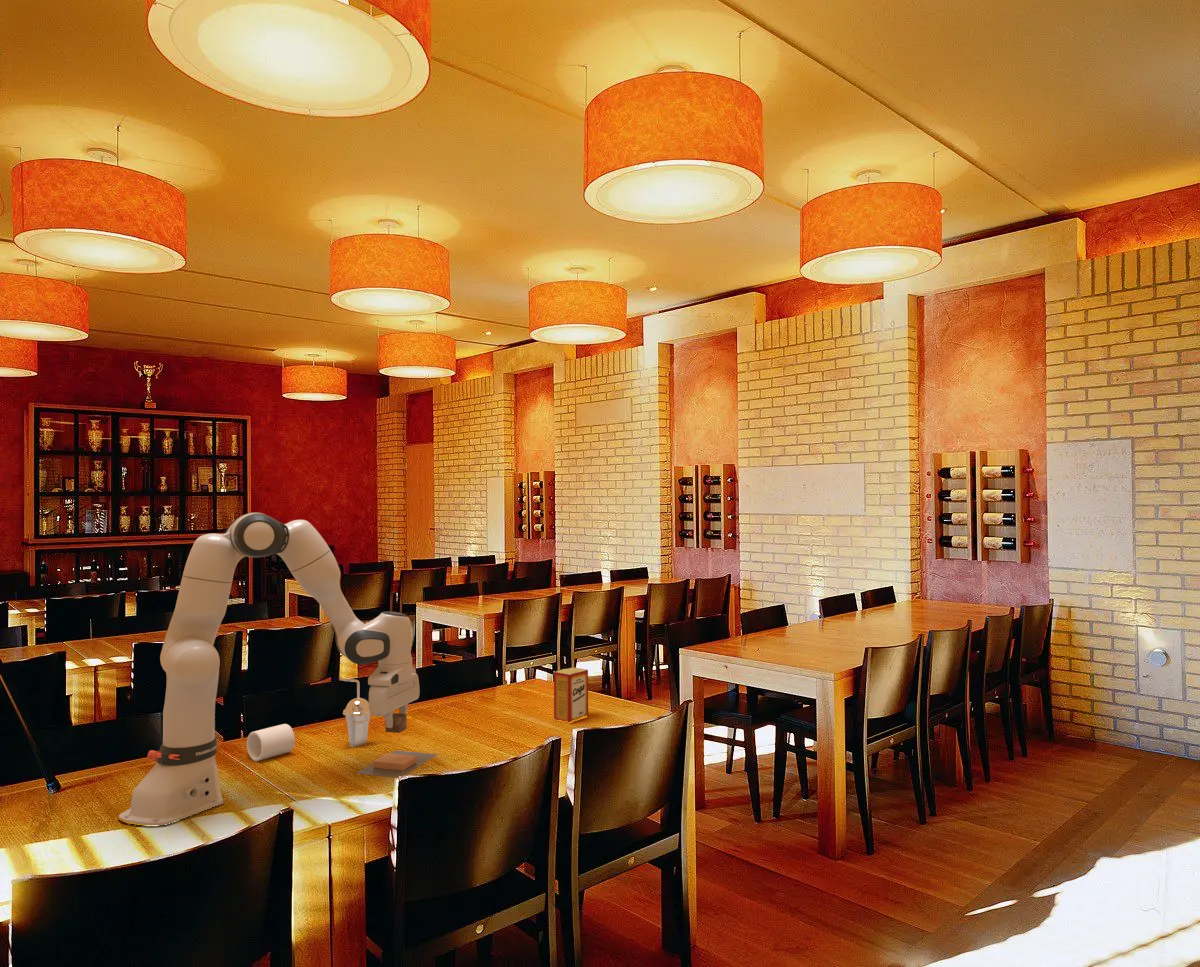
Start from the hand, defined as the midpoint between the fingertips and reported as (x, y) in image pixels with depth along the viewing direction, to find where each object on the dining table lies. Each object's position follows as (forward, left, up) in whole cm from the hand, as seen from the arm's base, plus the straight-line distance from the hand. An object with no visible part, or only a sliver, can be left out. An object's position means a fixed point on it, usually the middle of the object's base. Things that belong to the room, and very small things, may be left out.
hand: (395, 724), depth 217 cm
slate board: (+1, 0, -12) cm, 12 cm away
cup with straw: (+14, +21, -12) cm, 28 cm away
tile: (-4, 0, -10) cm, 11 cm away
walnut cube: (0, 0, -2) cm, 2 cm away
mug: (0, +41, -12) cm, 43 cm away
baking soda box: (+58, -30, -12) cm, 67 cm away
